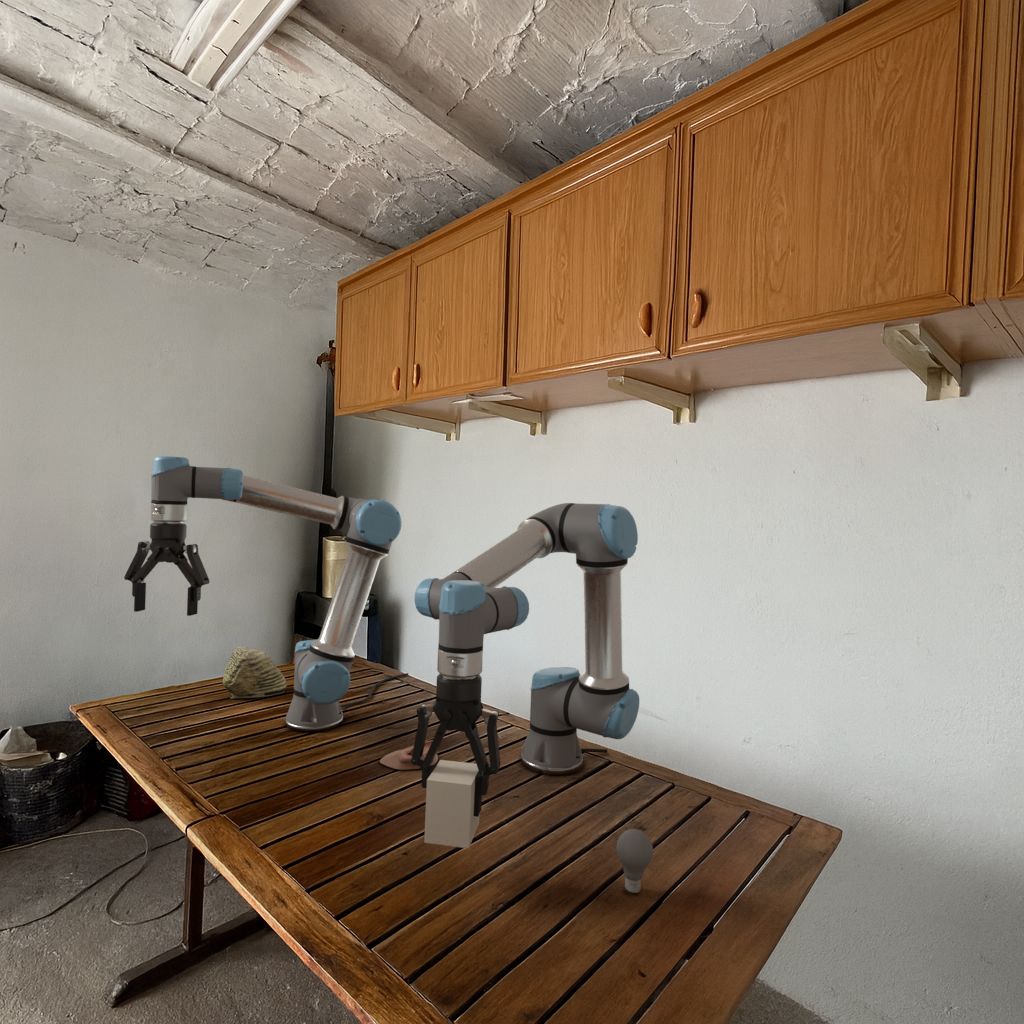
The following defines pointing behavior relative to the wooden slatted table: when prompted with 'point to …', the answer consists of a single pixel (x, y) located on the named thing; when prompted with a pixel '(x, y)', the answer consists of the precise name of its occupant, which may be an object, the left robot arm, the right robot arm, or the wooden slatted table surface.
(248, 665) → the fossil
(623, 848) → the light bulb
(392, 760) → the anatomical model
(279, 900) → the wooden slatted table surface
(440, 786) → the brick
